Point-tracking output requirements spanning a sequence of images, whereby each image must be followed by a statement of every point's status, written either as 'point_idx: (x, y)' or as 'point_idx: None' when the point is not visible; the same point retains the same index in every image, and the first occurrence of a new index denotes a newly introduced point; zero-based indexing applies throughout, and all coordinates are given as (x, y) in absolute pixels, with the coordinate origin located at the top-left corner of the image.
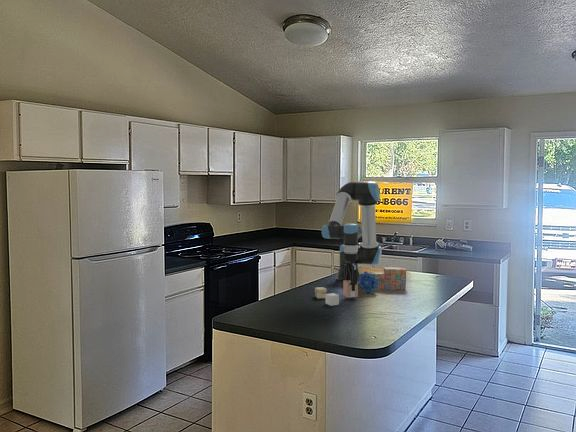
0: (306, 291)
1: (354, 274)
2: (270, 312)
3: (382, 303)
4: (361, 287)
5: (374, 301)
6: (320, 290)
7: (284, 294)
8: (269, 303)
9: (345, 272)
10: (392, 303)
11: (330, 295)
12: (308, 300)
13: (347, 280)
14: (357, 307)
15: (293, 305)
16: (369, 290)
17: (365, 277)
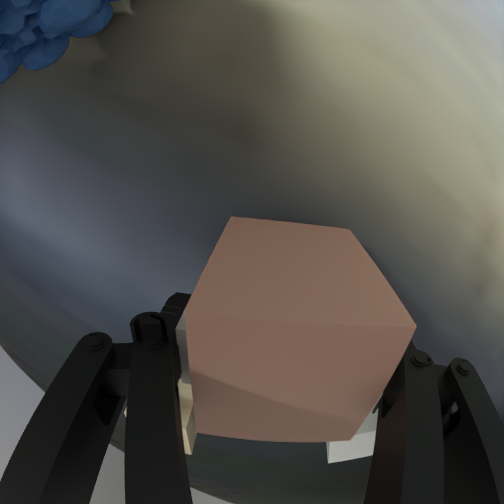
0: (55, 373)
1: (487, 492)
2: (332, 498)
3: (491, 110)
4: (54, 62)
5: (435, 116)
6: (191, 442)
7: (115, 442)
8: (237, 493)
9: (91, 477)
10: (499, 56)
11: (370, 453)
12: (231, 444)
13: (221, 409)
14: (481, 316)
15: (290, 478)
16: (109, 4)
17: (3, 8)
